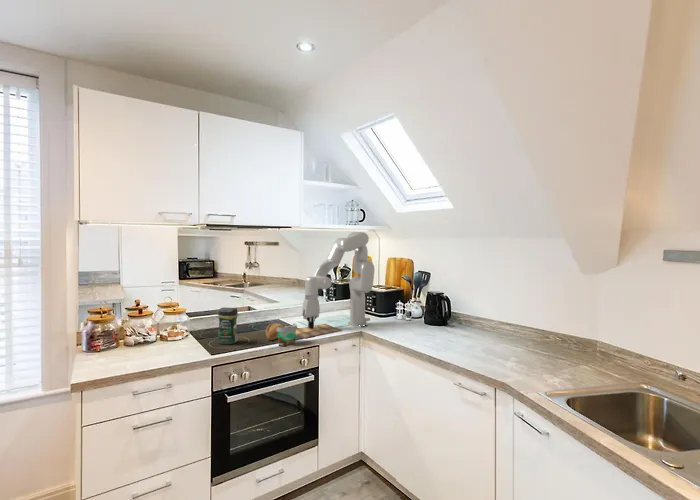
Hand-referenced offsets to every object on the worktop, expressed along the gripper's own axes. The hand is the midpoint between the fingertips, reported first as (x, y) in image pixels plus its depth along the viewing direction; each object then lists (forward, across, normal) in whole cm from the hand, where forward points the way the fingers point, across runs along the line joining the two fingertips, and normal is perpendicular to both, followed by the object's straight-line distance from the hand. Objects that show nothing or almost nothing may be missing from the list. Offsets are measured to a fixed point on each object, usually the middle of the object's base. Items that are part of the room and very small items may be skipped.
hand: (311, 327), depth 214 cm
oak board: (+2, 0, +1) cm, 2 cm away
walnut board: (+2, 0, +9) cm, 10 cm away
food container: (+2, +25, +16) cm, 30 cm away
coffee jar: (+2, +48, -8) cm, 49 cm away
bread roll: (+2, +24, -1) cm, 24 cm away
